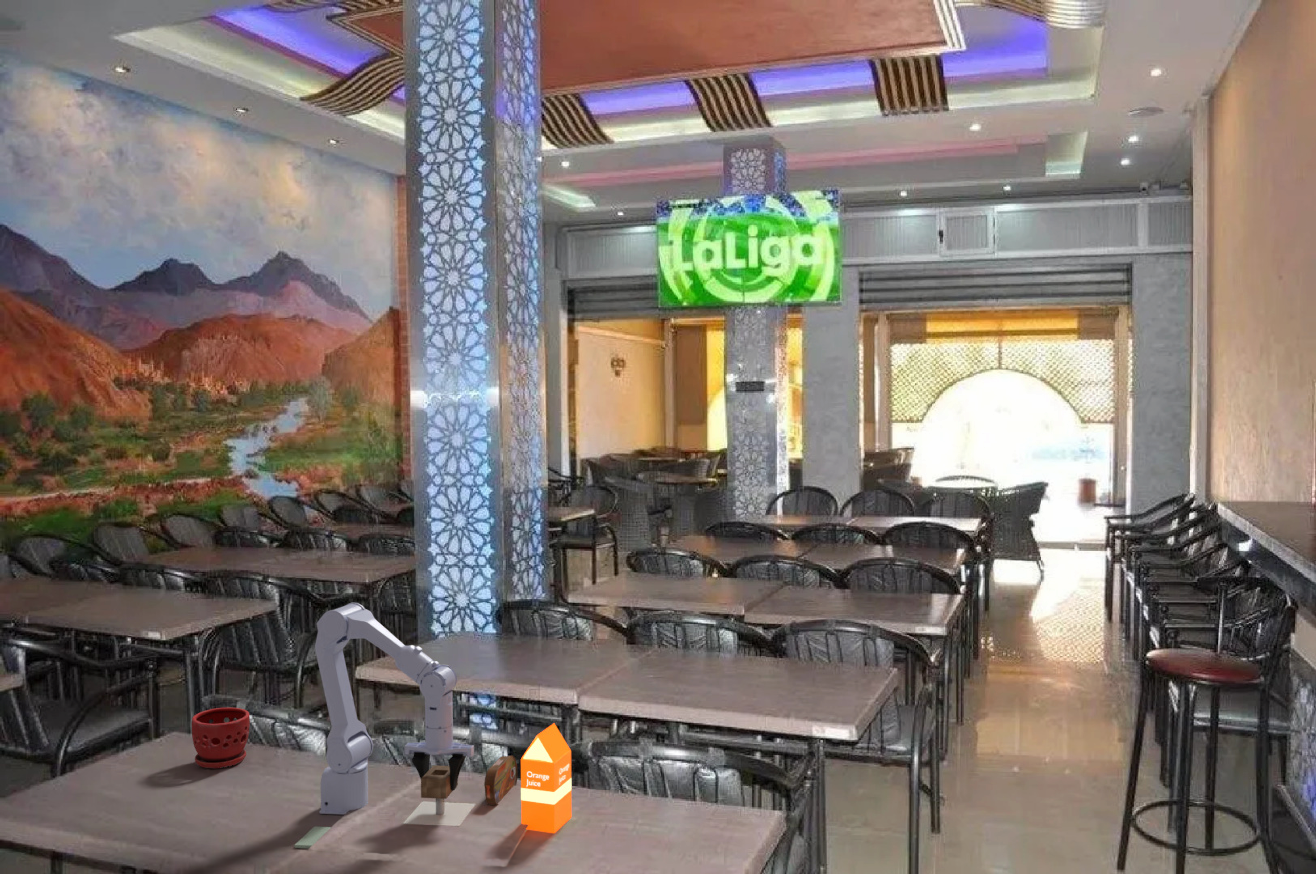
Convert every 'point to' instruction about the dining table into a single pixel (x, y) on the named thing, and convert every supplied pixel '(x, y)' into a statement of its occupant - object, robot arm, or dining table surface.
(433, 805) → the stand
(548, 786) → the orange juice
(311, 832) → the mat
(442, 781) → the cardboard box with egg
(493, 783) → the tin
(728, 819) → the dining table surface
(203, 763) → the plant pot
